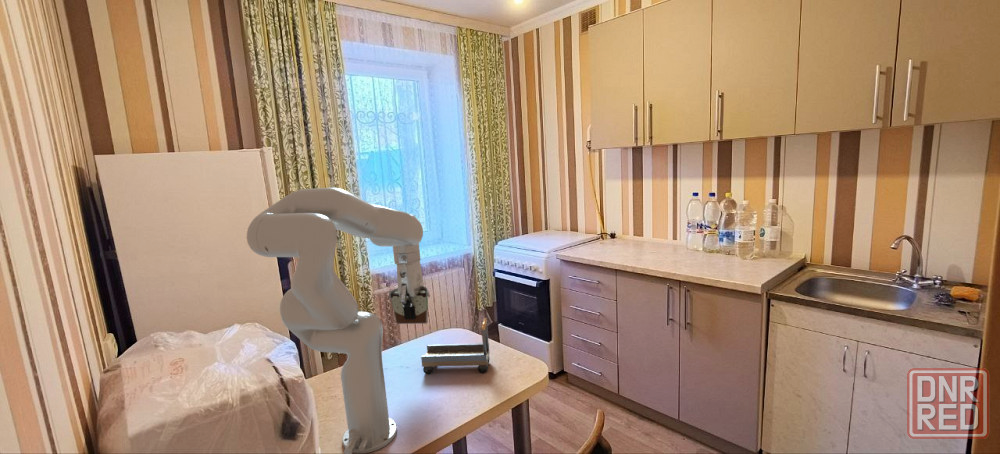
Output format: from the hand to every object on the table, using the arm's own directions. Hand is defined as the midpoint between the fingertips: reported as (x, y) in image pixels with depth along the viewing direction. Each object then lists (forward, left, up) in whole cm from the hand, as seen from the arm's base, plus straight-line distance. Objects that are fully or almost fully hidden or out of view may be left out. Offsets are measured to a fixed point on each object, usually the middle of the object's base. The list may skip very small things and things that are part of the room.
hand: (413, 314), depth 127 cm
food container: (0, 0, -2) cm, 2 cm away
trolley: (+3, -11, -20) cm, 23 cm away
